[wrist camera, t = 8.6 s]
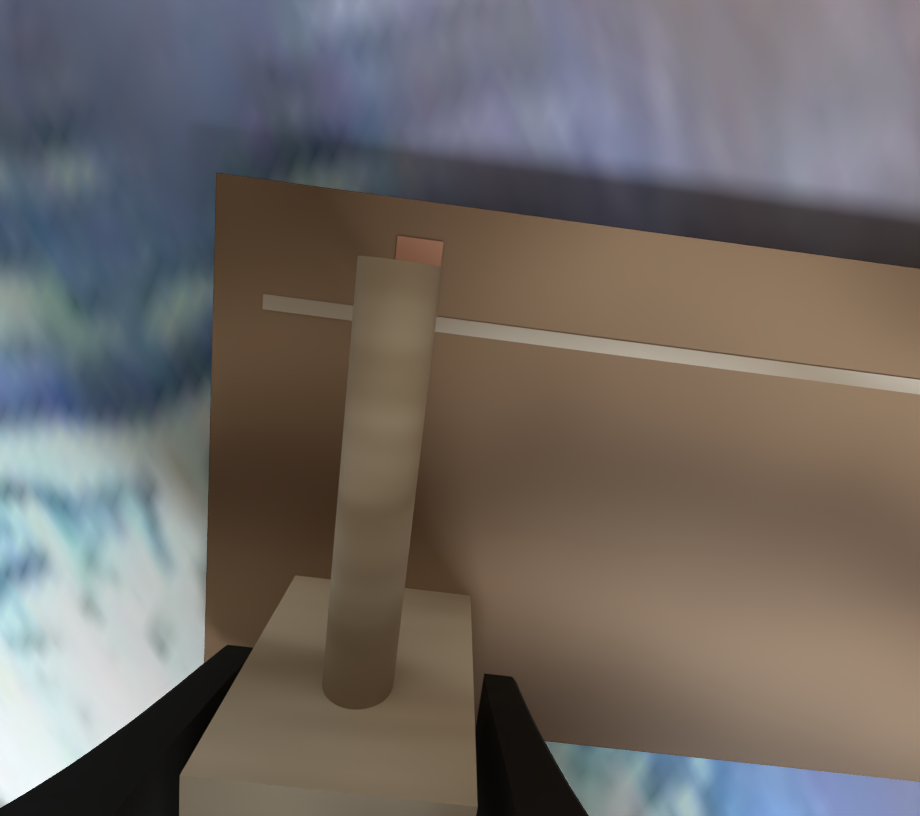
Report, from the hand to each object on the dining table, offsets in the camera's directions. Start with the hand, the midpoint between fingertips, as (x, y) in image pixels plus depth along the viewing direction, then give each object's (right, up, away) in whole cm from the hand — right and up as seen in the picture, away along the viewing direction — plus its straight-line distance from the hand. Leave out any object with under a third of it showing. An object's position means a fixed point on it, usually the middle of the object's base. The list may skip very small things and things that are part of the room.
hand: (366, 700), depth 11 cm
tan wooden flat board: (+8, +4, +2) cm, 9 cm away
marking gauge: (0, +3, +2) cm, 4 cm away
